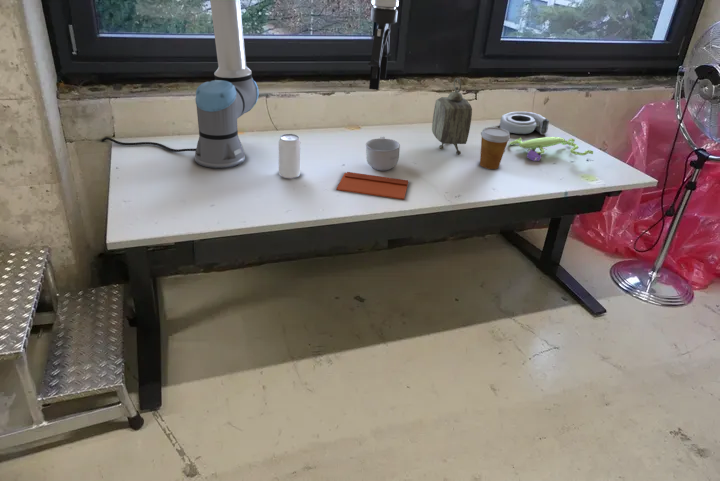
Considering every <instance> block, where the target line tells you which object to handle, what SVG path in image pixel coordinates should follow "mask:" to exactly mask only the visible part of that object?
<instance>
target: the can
mask: <svg viewBox="0 0 720 481" xmlns="http://www.w3.org/2000/svg"><path fill="white" fill-rule="evenodd" d="M278 175H279V176H280V177H281V178H284V179H296V178H298V177H300V175H301V140H300V136H299V135H297V134H294V133H283V134H281V135H280V136H279V140H278Z"/></svg>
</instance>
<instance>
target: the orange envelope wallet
mask: <svg viewBox="0 0 720 481" xmlns="http://www.w3.org/2000/svg"><path fill="white" fill-rule="evenodd" d="M408 186H409V180H408V179H402V178H395V177H387V176H380V175H373V174H367V173H358V172H351V171H347V172H344V174H343V176H342V177H341V179H340V181H339V183H338V185H337V186H336V191H340V192H346V193H347V192H348V193H355V194H359V195H360V194H361V195H368V196H374V197H375V196H376V197H382V198H388V199H396V200H402V201H404V200H405V197H406V194H407V189H408Z"/></svg>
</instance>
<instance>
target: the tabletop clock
mask: <svg viewBox="0 0 720 481" xmlns="http://www.w3.org/2000/svg"><path fill="white" fill-rule="evenodd" d="M456 82H458V84H459V86H456ZM453 90H454V91H452V92H450V93H449V94H448V96H441V97H439V98H437V99H436V100H435V103H434V109H433V116H432V125H431V131H432V134H433V136H434V137H435V139H436V140H437V141H439V142H440V143H441V144H440V145H439V146H438V149H439V150H441V151H442V150H444V145H453V146H454V147H455V150H456V152H455V153H456V155H457V156H461V154H462V151H461V150H459V146H458V145H466V144H467V142H468V139H469V134H470V130H471V124H472V116H473V107H472V105H471V104H470V102H469V101H468V100H467V99H466V98H465V97H463V94H462V93H461V90H462V81H461V79H460V78H458V77H456V78H455V79H454V80H453Z"/></svg>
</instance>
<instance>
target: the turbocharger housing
mask: <svg viewBox="0 0 720 481" xmlns="http://www.w3.org/2000/svg"><path fill="white" fill-rule="evenodd" d="M549 123H550V120H549V119H548V118H546V117H544V116H542V115H541V114H538V113H535V112H531V111H510V112H507V113H504V114H502V116H501V117H500V120H499V128H501V129H505V130H507V131H508V132H509V133H510V134H516V135H527V134H531V133H533V132H534V131H536V132H538V133H539V134H540V135H546V134H547V132H548V129H549V126H550V124H549Z"/></svg>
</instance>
